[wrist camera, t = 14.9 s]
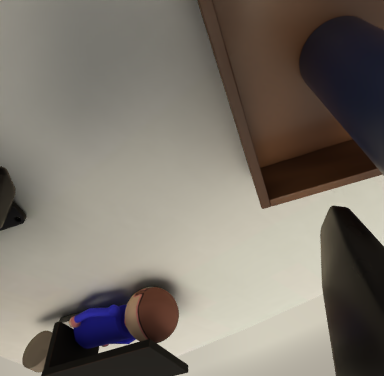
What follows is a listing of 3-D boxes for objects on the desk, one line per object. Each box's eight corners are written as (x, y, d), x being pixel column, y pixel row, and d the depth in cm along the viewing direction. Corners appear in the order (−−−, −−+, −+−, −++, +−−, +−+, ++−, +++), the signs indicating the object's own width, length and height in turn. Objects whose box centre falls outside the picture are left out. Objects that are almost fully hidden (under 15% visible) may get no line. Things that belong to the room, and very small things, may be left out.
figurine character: (84, 330, 39) (194, 301, 34) (61, 404, 34) (190, 384, 28) (40, 303, 36) (157, 266, 30) (7, 381, 30) (143, 353, 24)
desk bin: (250, 173, 25) (262, 209, 21) (188, -28, 17) (192, -17, 14) (444, 113, 22) (488, 144, 19) (476, -152, 14) (561, -173, 11)
